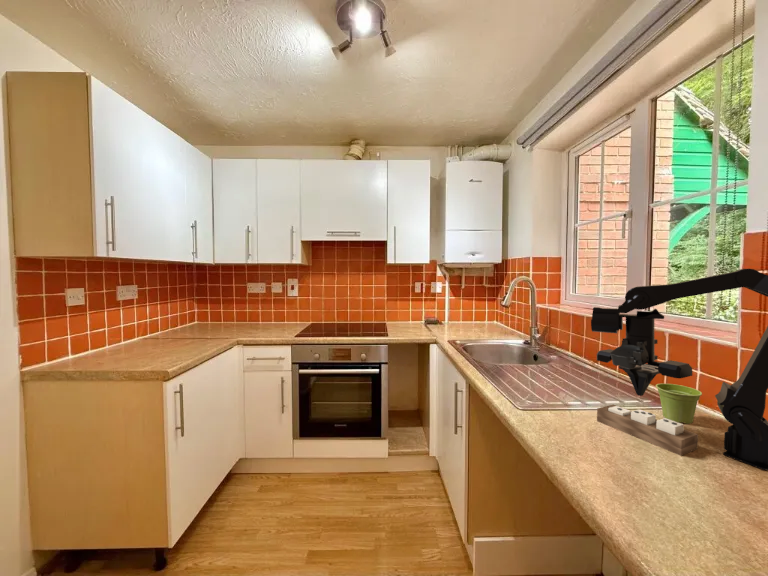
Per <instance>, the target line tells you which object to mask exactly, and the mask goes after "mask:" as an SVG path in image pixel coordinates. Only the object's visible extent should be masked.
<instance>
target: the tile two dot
mask: <svg viewBox="0 0 768 576" xmlns="http://www.w3.org/2000/svg"><path fill="white" fill-rule="evenodd" d="M656 420H657V424H656V429H659V430H662V431H665V432H667V433H670V434H673V435H675V436H677V435H679V434H682V433H683V430H684V429H685V427H684V426H685V425H684V424H685V423H684V424H683V423H682V422H680V423H678V422H675V421H672V420H669V419H666V418H665V417H663V418H661V419H656Z"/></svg>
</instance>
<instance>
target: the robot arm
mask: <svg viewBox="0 0 768 576" xmlns="http://www.w3.org/2000/svg"><path fill="white" fill-rule="evenodd" d="M740 288H745V289H748V290H750V291H752V292H754V293H758V294H760V295H762V296H765V297H767V298H768V274H765V273H762V272H760V271H759V270H756V269H754V268H741V269H740V268H739V269H736V270H735V271H730V272H726V273H721V274H717V275H711V276H707V277H701V278H696V279H692V280H691V279H690V280H685V281H680V282H676V283H671V284H670V283H669V284H656V285H655V284H654V285H641V286H638V285H637V286H635V287H632V288H630V289H628V290H627V292H626V293H625V296H624V302H622V304H619V305H617V306H618V307H617V308H611V307H610V308H609V307H606V308H605V307H600V306H599V307H598V306H597V307H596V306H595V307H593V308H592V314H591V319H590V328H591V331H592V332H594V333H607V334H618V333H619V331H623V329H624V322H623V321H624V320H623V319H624V318H625V338H624V337H623V338H622V340H621V345H620V346H617V347H616V348H615V349H610V348H608V349H602V350H598V351H597V353H596V361H597V362H601V363H606V364H607V363H609V362H611V361H612V365H613V366H616V367H617V366H618V368H619V369H620V370H622V371H623V372H625V373H626V374H627V376H628V378H629V379H630V382H631V384H632V386H633V389H634V391H635V394H636V395H637V396H639V397H642V396H643V395H644V394H645V393H646V392H647V389H648V387H649V386H650V384H651V383H652V381H653V380H654V379H655V377H656V376H657V375H661V376H664V377H668V378H669V377H670V378H673V379H678V380H679V379H685V378H688V377H692V376H693V367H692V366H691V365H690V363H687V362H683V361H675V360H666V361H657V360H658V355H656V354H655V351H656V350H655V348H656V347H655V346H656V345H657V344H658V339H656V338H655V320H656V319H657V320H664V319H665V316H664V314H662V313H661V312H659V310H658V308H654V309H652V310H651V311H649V310H647V311H645V310H646V309H649V308H650V309H651V308H653V307H657V306H658V305H662V304H665V303H667V302H668V303H669V302H670V301H674V300H676V299H677V300H678V299H683V298H690V297H693V296H700V295H706V294H711V293H712V294H713V293H716V292H717V293H718V292H722V291H723V292H724V291H728V290H735V289H740ZM633 310H637V311H636V314H628V313H630V312H632V311H633ZM641 310H643V311H641ZM767 391H768V325H767V326H766V329H765V331H764V332H763V334H762V335H761V338H760V340H759V341H758V344H756V347H755V349H754V350H753V352H752V354H751V356H750V358H749V360H748V361H747V364H746V365H745V367H744V369H743V371H742V373H741V374H740V376H739V378H738V379H737V380H736V381H735V382H733V383H732V384H729V383H727V382H725V381H722V384H721V387H720V391H719V392H718V393H717V394H715V395H714V397H715V398H716V399H715V400H716V401H717V406H718V409H719V410H720V412H721V414H722V416H723V417H724V419H725V420H726V421H727V422H728V423H729V424H731V425H729V426H728V427H727V431H724V440H723V442H724V443H723V450H725V451H723V453H722V454H723V456H725V457H728V458H731V459H734V460H736V461H739V462H742V463H744V464H747V465H750V466H751V467H756V468H758V469H760V470H764V471H768V419H766V418H765V417H764V414H765V411H766V410H765V409H766V403H767V402H766V401H767Z"/></svg>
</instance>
